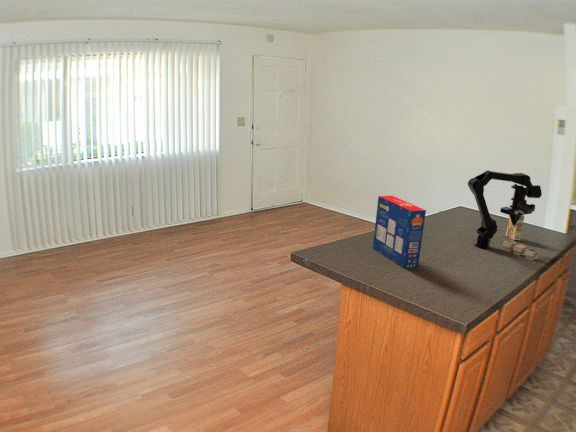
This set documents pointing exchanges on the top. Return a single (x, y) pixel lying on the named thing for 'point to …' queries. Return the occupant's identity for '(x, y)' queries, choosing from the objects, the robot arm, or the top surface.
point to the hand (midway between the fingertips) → (513, 225)
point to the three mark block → (531, 253)
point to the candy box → (515, 228)
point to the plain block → (519, 249)
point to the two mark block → (509, 245)
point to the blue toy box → (399, 231)
